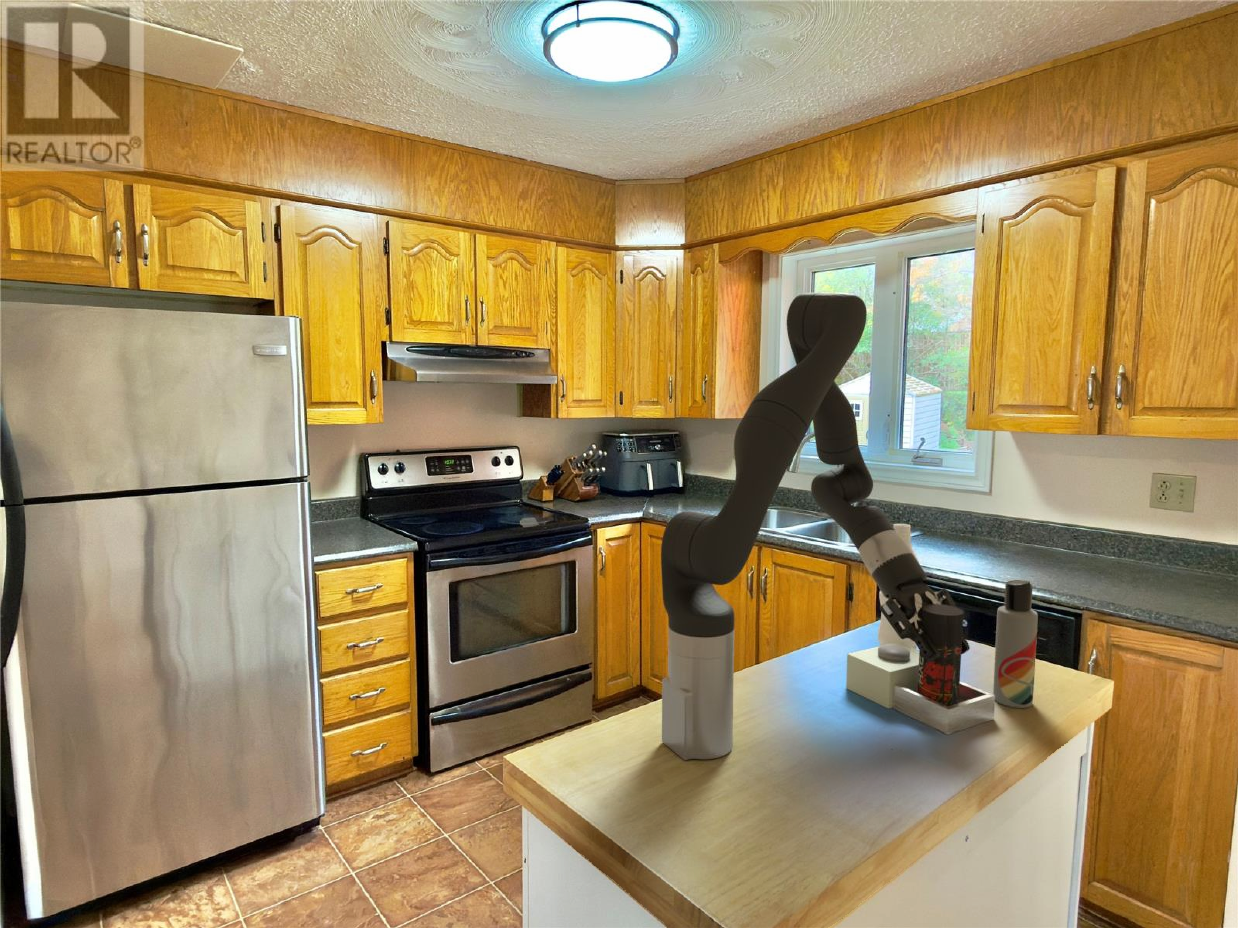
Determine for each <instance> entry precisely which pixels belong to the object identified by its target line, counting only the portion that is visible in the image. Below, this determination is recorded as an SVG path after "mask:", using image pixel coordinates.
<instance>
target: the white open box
mask: <svg viewBox="0 0 1238 928" xmlns="http://www.w3.org/2000/svg"><path fill="white" fill-rule="evenodd" d="M995 704H996V700H995V695H993V693H991V692H987V691H985V690H983V689H980V688H978V687H975V686H973V685H970V684H967V683H966V682H963V681H960V684H959V702H958V703H957V704H954V705H951V706H946V705H943V704H941V703H939V702H936V701H934V700H932V699H930V698H927V697H925V696H923V695H921V694H918V693H916V692H914V691H911V690H909V689H907V688H905V687H902V686H900V685H898V684H893V688H892V708H891V709H893V710H896V711H897V712H900V713H902V714H904V715H906V716H908V717H911V718H912V719H915V720H916V721H918V722H921V723H923V724H924V725H927V726H929V727H931V728H933V729H934V730H937V729H938V730H937V731H939V730H940V732H941V733H943V732H944V733H943V734H946V735H952V734H954V733H956V732H959V731H963V730H965V729H968V728H972V727H974V726H977V725H980V724H983V723H986V722H987V723H988V722H989V721H992V720H995ZM953 732H954V733H953Z"/></svg>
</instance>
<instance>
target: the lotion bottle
mask: <svg viewBox="0 0 1238 928" xmlns="http://www.w3.org/2000/svg"><path fill="white" fill-rule="evenodd" d="M1004 586H1005V589H1004V605H1002V606H999V607H998V608H997V612H996V613H997V614H996V631H995V633H996V634H995V648H994V649H995V651H994V667H993V668H994V669H993V685H992V686H993V688H992V689H993V691H992V694H993V695H995V702H997V703H1000V704H1001V705H1004V706H1007V707H1011V708H1017V709H1026V708H1030V707H1031V706H1032V705H1033V701H1034V693H1035V692H1034V690H1035V676H1036V673H1035V672H1036V654H1037V636H1038V618H1039V615H1038V612H1037V611H1036V610H1034V609H1032V602H1033V589H1034V588H1033V585H1032V583H1031V581H1029V580H1021V579H1012V580H1008V581H1007V582H1005V584H1004Z"/></svg>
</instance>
